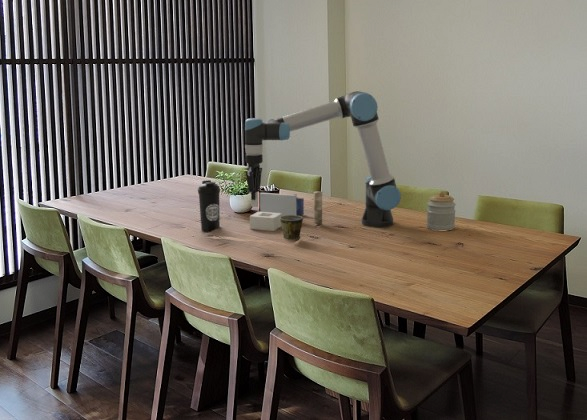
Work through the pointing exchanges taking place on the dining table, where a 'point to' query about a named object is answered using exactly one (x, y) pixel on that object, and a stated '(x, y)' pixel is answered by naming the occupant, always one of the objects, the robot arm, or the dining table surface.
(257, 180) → the robot arm
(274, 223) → the sliding block
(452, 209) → the jar
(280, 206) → the backstop wall
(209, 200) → the water bottle
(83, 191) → the dining table surface
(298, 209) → the flask
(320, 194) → the dowel
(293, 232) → the ceramic cup
